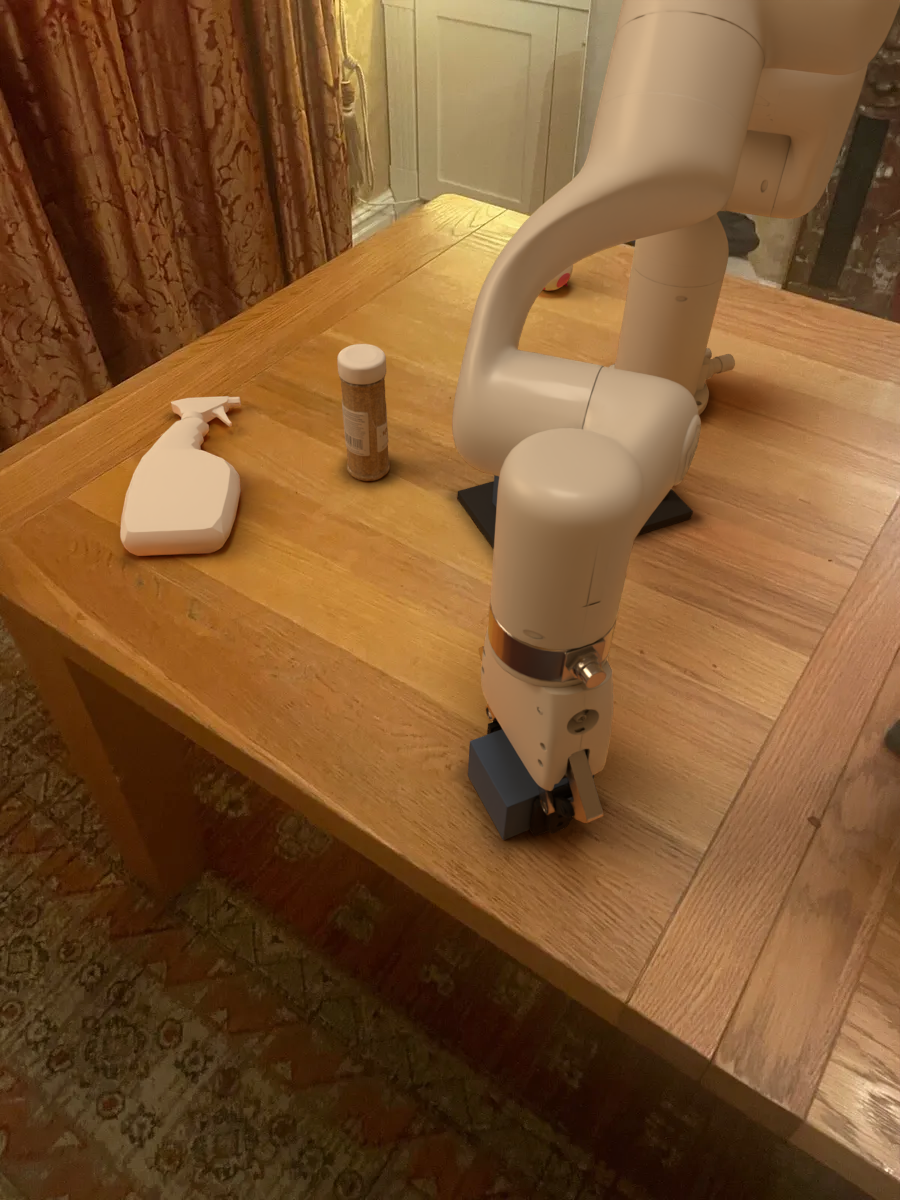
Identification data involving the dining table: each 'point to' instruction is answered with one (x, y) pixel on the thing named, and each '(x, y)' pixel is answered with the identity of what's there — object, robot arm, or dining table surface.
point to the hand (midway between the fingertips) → (527, 785)
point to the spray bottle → (182, 487)
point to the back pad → (503, 783)
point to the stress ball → (560, 280)
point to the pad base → (484, 505)
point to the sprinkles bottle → (364, 410)
